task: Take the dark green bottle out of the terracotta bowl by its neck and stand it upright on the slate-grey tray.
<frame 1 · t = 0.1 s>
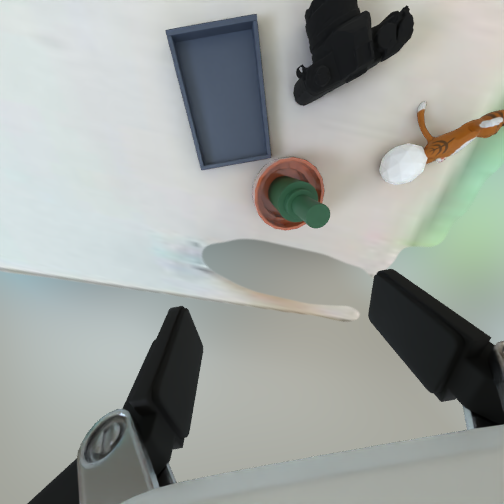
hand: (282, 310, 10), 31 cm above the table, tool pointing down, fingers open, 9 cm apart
tray: (225, 106, 31), on the table
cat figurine: (417, 139, 36), on the table
film camera: (328, 55, 29), on the table
bowl: (282, 191, 38), on the table
bottle: (283, 192, 37), point 1 cm above the table, touching bowl
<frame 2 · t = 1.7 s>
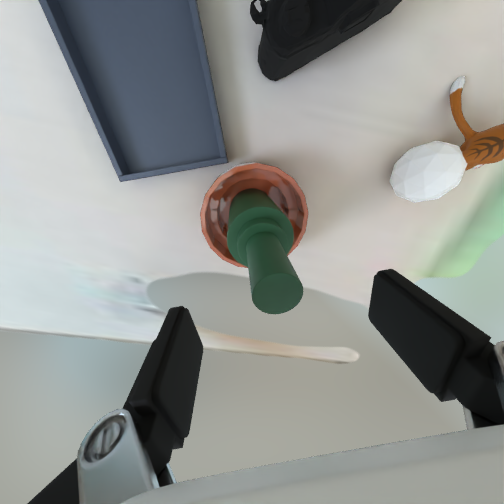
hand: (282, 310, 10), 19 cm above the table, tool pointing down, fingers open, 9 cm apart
tray: (151, 81, 20), on the table
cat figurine: (445, 135, 24), on the table
bowl: (251, 210, 26), on the table
bottle: (251, 211, 26), point 1 cm above the table, touching bowl
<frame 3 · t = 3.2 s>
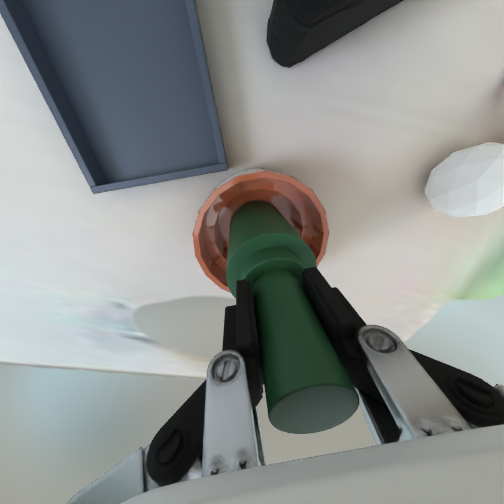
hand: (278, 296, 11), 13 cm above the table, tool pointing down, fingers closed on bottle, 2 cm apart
tray: (131, 67, 15), on the table
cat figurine: (493, 136, 20), on the table
bowl: (256, 225, 22), on the table
bottle: (256, 227, 21), point 1 cm above the table, touching bowl, gripper
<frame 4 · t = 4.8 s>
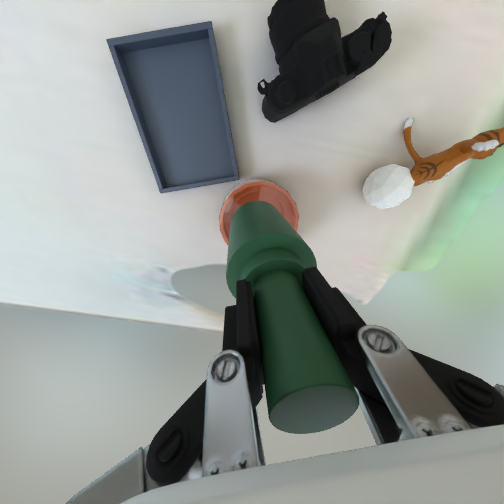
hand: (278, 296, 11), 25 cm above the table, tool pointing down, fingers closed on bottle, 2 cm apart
tray: (186, 123, 28), on the table
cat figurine: (404, 158, 32), on the table
film camera: (300, 67, 26), on the table
bowl: (256, 214, 34), on the table
bottle: (256, 227, 21), point 13 cm above the table, touching gripper
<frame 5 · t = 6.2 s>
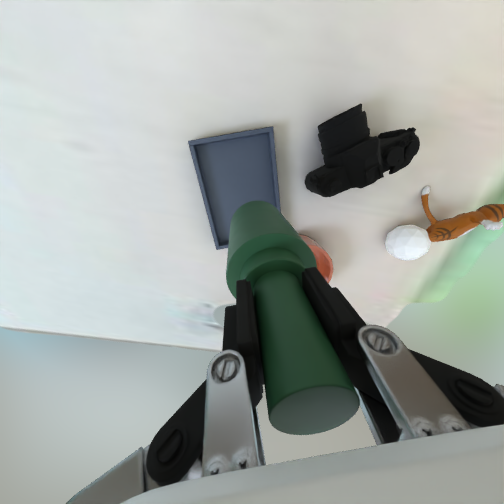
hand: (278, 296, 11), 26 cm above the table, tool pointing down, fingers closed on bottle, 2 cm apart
tray: (240, 193, 33), on the table
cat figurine: (421, 215, 37), on the table
film camera: (338, 150, 31), on the table
bowl: (292, 260, 39), on the table
bottle: (257, 227, 21), point 13 cm above the table, touching gripper
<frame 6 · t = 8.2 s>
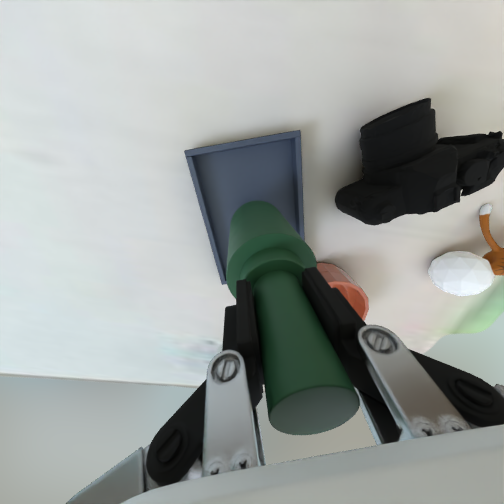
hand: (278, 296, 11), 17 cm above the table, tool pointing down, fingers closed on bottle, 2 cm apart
tray: (253, 214, 26), on the table
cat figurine: (473, 238, 30), on the table
film camera: (381, 160, 24), on the table
bowl: (313, 292, 32), on the table
bottle: (256, 227, 21), point 5 cm above the table, touching gripper
when the fingers open (13 cm above the table, at t = 9.5 s): bottle stays where it is, resting on tray.
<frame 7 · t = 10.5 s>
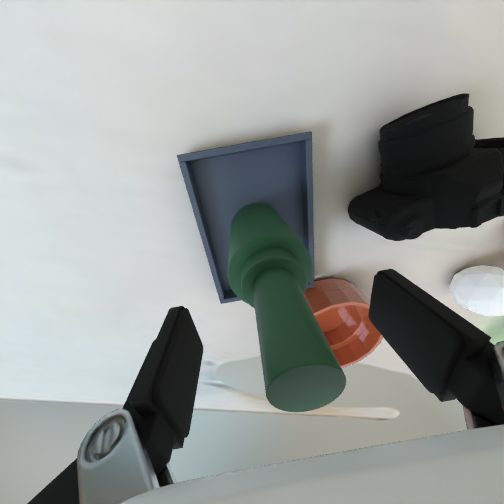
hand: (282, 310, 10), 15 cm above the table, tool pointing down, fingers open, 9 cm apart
tray: (256, 226, 23), on the table
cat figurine: (499, 250, 27), on the table
film camera: (400, 165, 21), on the table
bowl: (321, 309, 29), on the table
bottle: (256, 228, 22), point 1 cm above the table, touching tray
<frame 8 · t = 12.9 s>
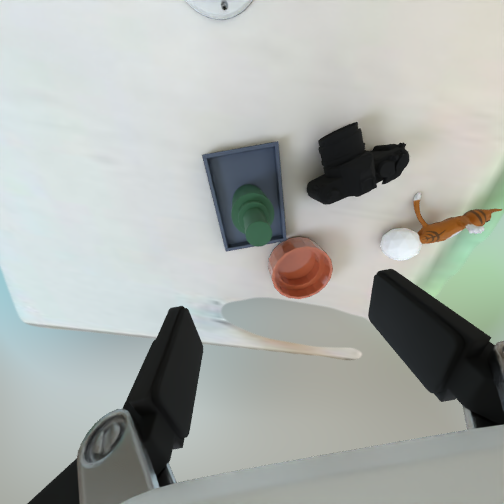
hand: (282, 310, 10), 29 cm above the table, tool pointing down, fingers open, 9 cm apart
tray: (248, 200, 36), on the table
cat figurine: (413, 219, 40), on the table
film camera: (337, 161, 34), on the table
bowl: (294, 261, 43), on the table
bottle: (248, 201, 35), point 1 cm above the table, touching tray
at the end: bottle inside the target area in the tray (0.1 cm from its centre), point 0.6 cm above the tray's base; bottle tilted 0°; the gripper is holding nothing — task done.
